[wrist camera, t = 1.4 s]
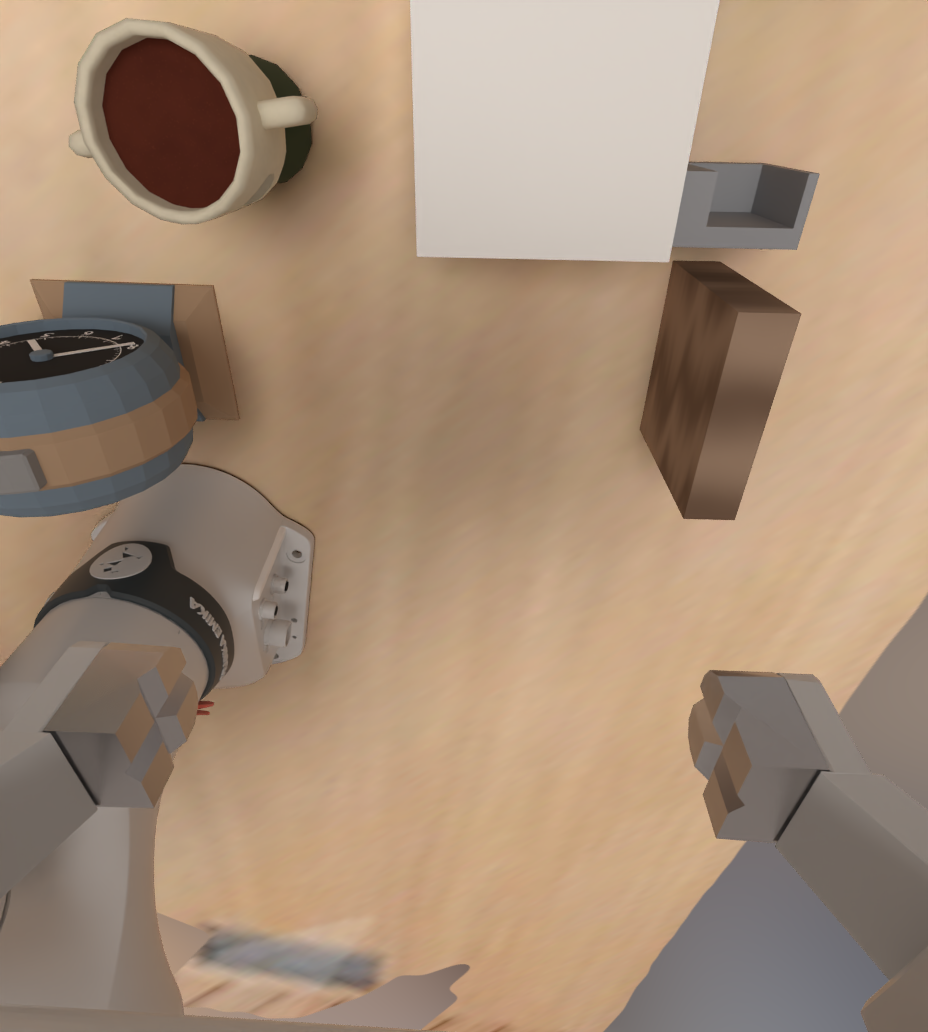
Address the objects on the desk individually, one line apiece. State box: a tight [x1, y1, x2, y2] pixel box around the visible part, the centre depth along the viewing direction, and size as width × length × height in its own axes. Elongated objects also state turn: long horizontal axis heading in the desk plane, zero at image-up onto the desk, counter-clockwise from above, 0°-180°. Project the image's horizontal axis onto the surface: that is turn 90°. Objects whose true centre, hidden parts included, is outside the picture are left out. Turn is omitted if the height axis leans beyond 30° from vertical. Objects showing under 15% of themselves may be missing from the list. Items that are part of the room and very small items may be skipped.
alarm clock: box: [0, 279, 240, 517], centre depth 36 cm, size 14×10×18 cm
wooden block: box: [640, 261, 801, 520], centre depth 37 cm, size 12×4×12 cm, turn 179°
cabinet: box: [410, 0, 819, 262], centre depth 29 cm, size 16×20×11 cm
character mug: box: [69, 18, 318, 224], centre depth 30 cm, size 11×7×13 cm, turn 97°
